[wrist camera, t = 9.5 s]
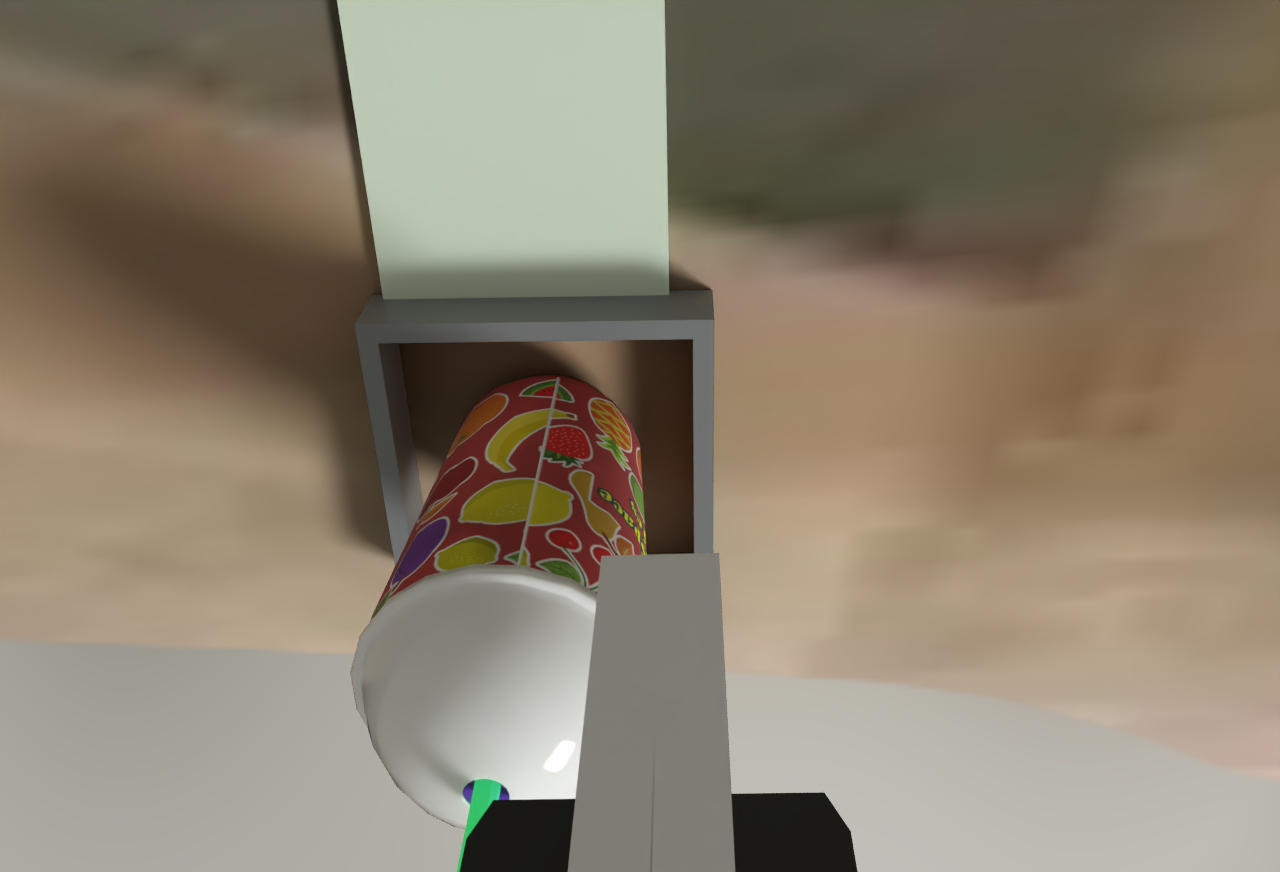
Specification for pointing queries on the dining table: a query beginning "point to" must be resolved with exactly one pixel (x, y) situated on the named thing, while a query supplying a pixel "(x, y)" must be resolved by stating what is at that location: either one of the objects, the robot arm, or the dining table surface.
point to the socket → (516, 323)
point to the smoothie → (501, 602)
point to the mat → (512, 145)
